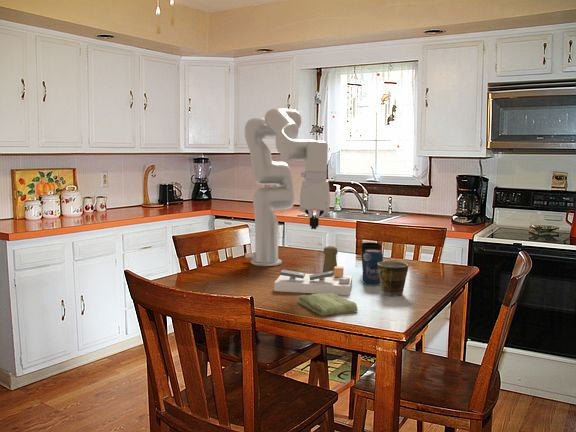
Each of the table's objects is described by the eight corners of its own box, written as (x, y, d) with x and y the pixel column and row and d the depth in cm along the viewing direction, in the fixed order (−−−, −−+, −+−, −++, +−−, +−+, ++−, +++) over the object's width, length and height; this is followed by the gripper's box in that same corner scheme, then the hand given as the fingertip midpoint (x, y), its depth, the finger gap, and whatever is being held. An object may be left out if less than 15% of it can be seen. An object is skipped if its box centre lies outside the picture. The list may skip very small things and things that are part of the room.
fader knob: (334, 276, 190) (334, 268, 190) (334, 274, 193) (334, 266, 193) (342, 277, 190) (342, 268, 189) (343, 275, 193) (343, 266, 192)
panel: (274, 291, 184) (274, 277, 183) (282, 280, 198) (282, 268, 198) (349, 295, 179) (349, 281, 179) (352, 284, 194) (352, 271, 194)
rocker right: (310, 280, 183) (309, 277, 183) (311, 277, 187) (310, 274, 187) (333, 275, 182) (332, 272, 182) (334, 273, 186) (333, 270, 186)
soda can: (367, 286, 191) (368, 252, 190) (359, 281, 198) (360, 249, 196) (385, 285, 193) (386, 251, 192) (377, 280, 200) (378, 248, 198)
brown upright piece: (337, 277, 204) (337, 248, 203) (321, 276, 206) (321, 247, 204) (338, 273, 210) (339, 245, 209) (323, 273, 211) (323, 244, 210)
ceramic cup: (386, 288, 189) (387, 259, 188) (412, 293, 183) (413, 263, 181) (366, 295, 179) (367, 265, 178) (393, 301, 173) (394, 270, 171)
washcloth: (332, 298, 177) (332, 289, 176) (360, 313, 161) (360, 303, 160) (295, 302, 172) (295, 292, 171) (320, 319, 155) (320, 308, 155)
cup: (357, 276, 207) (357, 244, 205) (364, 272, 213) (364, 241, 212) (376, 278, 203) (377, 246, 202) (383, 274, 210) (384, 243, 208)
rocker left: (279, 274, 185) (280, 271, 185) (282, 272, 189) (282, 269, 189) (303, 278, 184) (303, 275, 183) (304, 275, 187) (305, 272, 187)
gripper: (292, 176, 188) (291, 229, 191) (336, 178, 186) (334, 231, 189) (296, 174, 196) (294, 225, 199) (338, 176, 193) (336, 228, 196)
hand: (313, 228), depth 194 cm, fingers closed
